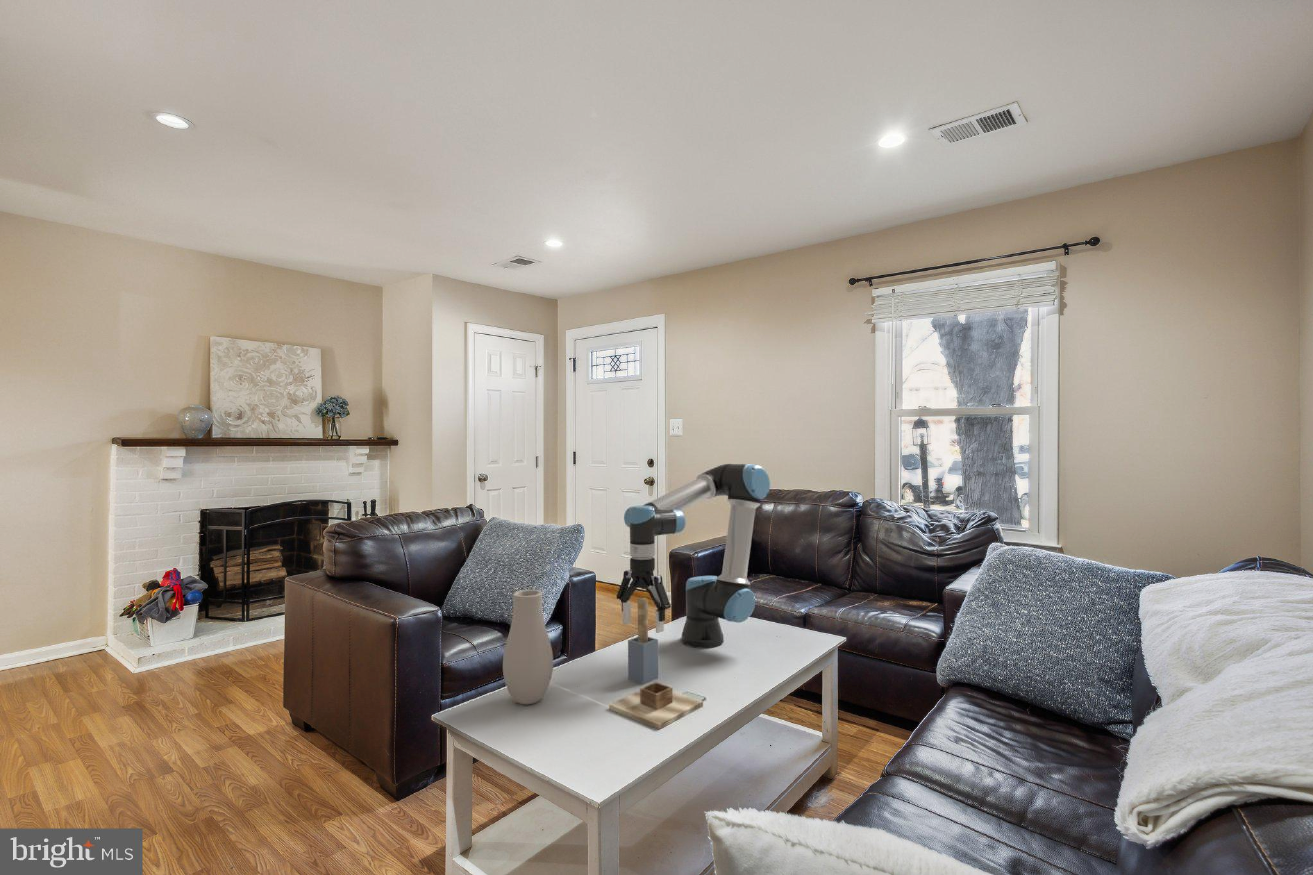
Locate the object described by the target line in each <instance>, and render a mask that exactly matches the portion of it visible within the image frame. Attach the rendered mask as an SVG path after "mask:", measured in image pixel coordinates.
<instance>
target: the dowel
mask: <svg viewBox="0 0 1313 875" xmlns="http://www.w3.org/2000/svg"><path fill="white" fill-rule="evenodd" d="M648 602H649V601H648V598H647V597H639V598H637V637H638V642H640V643H643V644H644V643H646V642H648V637H649V632H648V631H649V625H648V624H649V622H648V620H649V616H648V615H649V613H648V611H649V610H648V608H649V605H648Z"/></svg>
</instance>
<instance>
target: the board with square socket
mask: <svg viewBox="0 0 1313 875" xmlns="http://www.w3.org/2000/svg"><path fill="white" fill-rule="evenodd" d="M703 706H704V701H700V700H697V699H694V698H691V697H689V696H686V695H683V694H682V693H680V692H678V691H673V687H672V686H668V685H666V684H662V683H659V682H657V681H655V682H652V683H650V684H648V685H644V686H643V687H641V688H639V690H638V691H636V692H634V693H632V694H629V695H627V696H625V697H622V698H621V699H619V700H617V701H614V702H612V703H609V705H608V709H609V710H611V711H614V712H616V713H618V714H620V715H623V716H624V717H625V716H626V717H628V718H630V719H633V720H635V721H638V722H640V723H643V724H645V725H648V726H650V727H652V728H655V729H657V730H662V729H663V728H665V727H667V726H668V725H670V724H673V723H675V722H676V721H678V720H679V719H681V718H683V717H686V716H687V715H689V714H691V713H693V712H694V711H696V710H698V709H700V708H701V707H703Z"/></svg>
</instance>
